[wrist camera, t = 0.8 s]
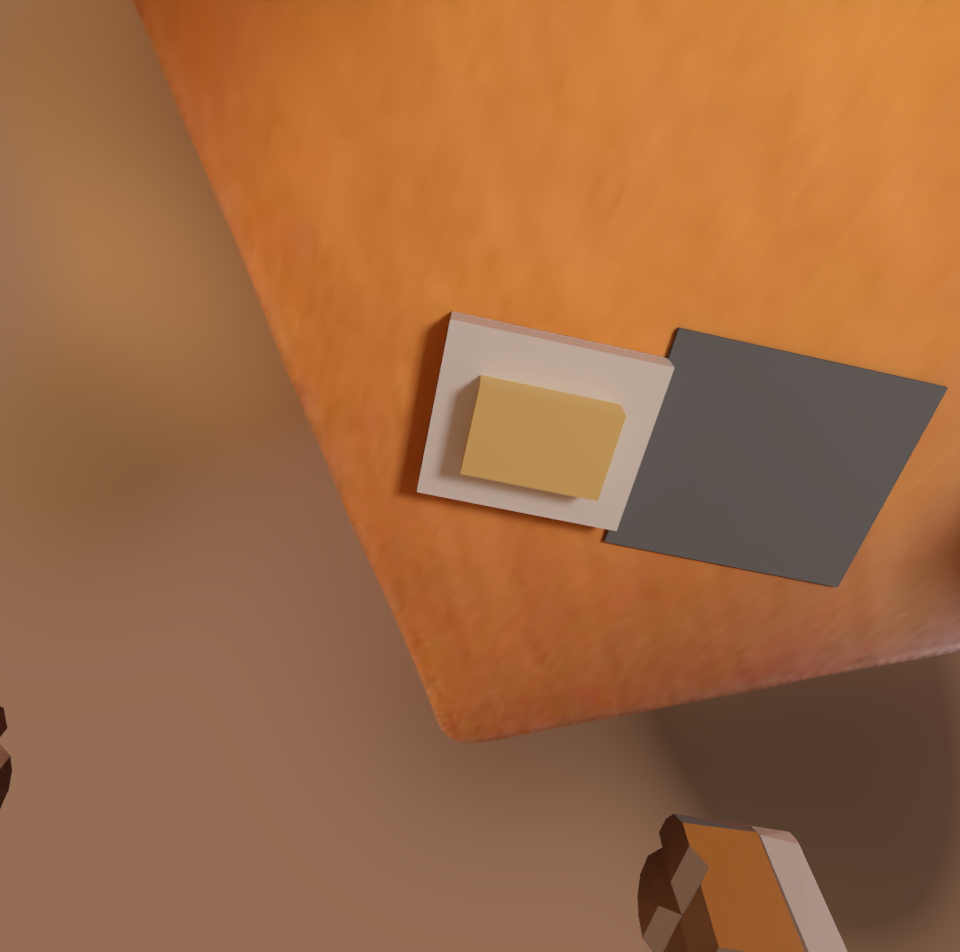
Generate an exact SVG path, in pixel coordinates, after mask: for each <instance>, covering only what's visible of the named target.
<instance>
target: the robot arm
mask: <svg viewBox="0 0 960 952" xmlns="http://www.w3.org/2000/svg"><path fill="white" fill-rule="evenodd" d="M6 729H7V724H6V718H5V713H4V708H3V707H0V736H1V735H2V734H3V733H4V732H5V731H6ZM11 774H12V767H11V756H10V755H9V754H8V753H7V751H6V750H5V749H4V748H3V747H2V746H1V745H0V808H1V806H2V803H3V801H4V799H5V796H6V794H7V792H8V790H9V785H10V779H11ZM659 835H660V839H661V843H662V848H661V849H659V850H657V851H656V852H654V853H652V854H651V855H649V856H648V857H647V859H646V862H645V864H644V866H643V869H642V871H641V873H640V881H639V889H638V914H639V921H640V926H641V933H642V938H643V939H644V941H645V942H646V943H647V945H648V946H649V947H650V948H651V950H652V951H653V952H847V950H846V948H845V945H844V943H843V941H842V938H841V936H840V934H839V932H838V930H837V928H836V925H835V923H834V921H833V919H832V916H831V914H830V912H829V910H828V907H827V905H826V903H825V901H824V899H823V896H822V894H821V892H820V890H819V887H818V886H817V883H816V881H815V879H814V876H813V874H812V872H811V870H810V868H809V866H808V863H807V861H806V859H805V857H804V854H803V852H802V850H801V848H800V845H799V843H798V841H797V840H796V839H795V838H794V837H793V836H792V835H791V834H790V833H789V832H785V831H778V830H773V829H766V828H760V827H754V826H746V825H745V824H739V823H732V822H726V821H719V820H712V819H705V818H699V817H692V816H685V815H679V814H672V815H671V816H669V817H668V818H667V819H666V820H665V822H664V823H663V825H662V828H661V829H660V831H659Z"/></svg>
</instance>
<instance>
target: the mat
mask: <svg viewBox="0 0 960 952" xmlns="http://www.w3.org/2000/svg"><path fill="white" fill-rule="evenodd" d="M668 359H669V361H670V362H671V363H672V365H673V366H674V367H675V368H674V371H673V374H672V377H671V380H670V382H669V385H668V388H667V391H666V394H665V396H664V399H663V402H662V405H661V408H660V410H659V413H658V416H657V419H656V422H655V425H654V427H653V430H652V433H651V436H650V439H649V441H648V444H647V447H646V450H645V453H644V455H643V458H642V461H641V464H640V467H639V470H638V472H637V475H636V478H635V481H634V484H633V486H632V489H631V492H630V495H629V498H628V500H627V503H626V506H625V509H624V512H623V515H622V517H621V520H620V523H619V526H618V529H617V531H612V530H607V533H606V536H605V539H604V541H605V542H607V543H612V544H617V545H622V546H628V547H633V548H638V549H643V550H648V551H653V552H658V553H664V554H669V555H674V556H679V557H684V558H689V559H694V560H700V561H705V562H710V563H715V564H720V565H725V566H730V567H736V568H741V569H746V570H751V571H756V572H761V573H766V574H772V575H777V576H782V577H787V578H792V579H797V580H802V581H808V582H813V583H818V584H823V585H828V586H833V587H838V586H839V584H840V582H841V581H842V579H843V577H844V575H845V573H846V571H847V570H848V568H849V566H850V564H851V562H852V561H853V559H854V557H855V555H856V553H857V552H858V550H859V548H860V546H861V544H862V542H863V541H864V539H865V537H866V535H867V533H868V532H869V530H870V528H871V526H872V524H873V523H874V521H875V519H876V517H877V515H878V514H879V512H880V510H881V508H882V506H883V504H884V503H885V501H886V499H887V497H888V495H889V494H890V492H891V490H892V488H893V486H894V485H895V483H896V481H897V479H898V477H899V475H900V474H901V472H902V470H903V468H904V466H905V465H906V463H907V461H908V459H909V457H910V456H911V454H912V452H913V450H914V448H915V447H916V445H917V443H918V441H919V439H920V437H921V436H922V434H923V432H924V430H925V428H926V427H927V425H928V423H929V421H930V419H931V418H932V416H933V414H934V412H935V410H936V408H937V407H938V405H939V403H940V401H941V399H942V398H943V396H944V394H945V392H946V390H947V389H948V388H947V387H945V386H941V385H936V384H932V383H927V382H923V381H918V380H914V379H909V378H904V377H900V376H895V375H891V374H886V373H882V372H877V371H873V370H868V369H864V368H859V367H855V366H850V365H846V364H841V363H837V362H832V361H828V360H823V359H818V358H814V357H809V356H805V355H800V354H796V353H791V352H787V351H782V350H778V349H773V348H769V347H764V346H760V345H755V344H751V343H746V342H742V341H737V340H733V339H728V338H723V337H719V336H714V335H710V334H705V333H701V332H696V331H692V330H687V329H683V328H678V329H677V332H676V335H675V338H674V341H673V343H672V346H671V349H670V352H669V355H668Z"/></svg>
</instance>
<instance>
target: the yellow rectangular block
mask: <svg viewBox="0 0 960 952" xmlns="http://www.w3.org/2000/svg"><path fill="white" fill-rule="evenodd" d="M625 418H626V415H625V413H624V410H623V408H622V406H621V404H617V403H612V402H608V401H603V400H598V399H593V398H589V397H584V396H579V395H574V394H570V393H565V392H560V391H555V390H551V389H546V388H541V387H536V386H532V385H527V384H522V383H517V382H513V381H508V380H503V379H498V378H494V377H489V376H484V375H481V376H480V380H479V384H478V389H477V393H476V398H475V402H474V407H473V411H472V416H471V420H470V425H469V429H468V434H467V438H466V443H465V447H464V452H463V456H462V462H461V471H460V474H463V475H468V476H473V477H478V478H483V479H488V480H493V481H499V482H504V483H509V484H514V485H519V486H524V487H529V488H534V489H539V490H544V491H549V492H554V493H559V494H564V495H569V496H574V497H579V498H584V499H589V500H594V501H598V499H599V496H600V493H601V490H602V487H603V484H604V481H605V478H606V475H607V472H608V469H609V466H610V463H611V460H612V457H613V454H614V451H615V448H616V445H617V442H618V439H619V436H620V433H621V430H622V427H623V424H624V421H625Z"/></svg>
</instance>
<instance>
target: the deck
mask: <svg viewBox="0 0 960 952" xmlns="http://www.w3.org/2000/svg"><path fill="white" fill-rule="evenodd" d="M674 368H675V367H674V366H673V365H672V363H671V362H670V361H669V359H668V358H666V357H661V356H657V355H652V354H648V353H643V352H638V351H634V350H629V349H625V348H620V347H615V346H611V345H606V344H602V343H597V342H592V341H588V340H583V339H579V338H574V337H569V336H565V335H560V334H556V333H551V332H546V331H542V330H537V329H533V328H528V327H523V326H519V325H514V324H510V323H505V322H500V321H496V320H491V319H487V318H482V317H477V316H473V315H468V314H464V313H459V312H454V311H452V313H451V318H450V322H449V328H448V333H447V338H446V343H445V348H444V353H443V358H442V364H441V369H440V374H439V379H438V384H437V389H436V395H435V400H434V405H433V410H432V415H431V420H430V425H429V431H428V436H427V441H426V446H425V451H424V456H423V462H422V467H421V472H420V477H419V482H418V487H417V492H419V493H424V494H429V495H434V496H439V497H444V498H449V499H454V500H459V501H464V502H470V503H475V504H480V505H485V506H490V507H495V508H500V509H505V510H510V511H515V512H521V513H526V514H531V515H536V516H541V517H546V518H551V519H556V520H561V521H567V522H572V523H577V524H582V525H587V526H592V527H597V528H602V529H607V530H612V531H617V529H618V526H619V523H620V520H621V517H622V515H623V512H624V509H625V506H626V503H627V500H628V498H629V495H630V492H631V489H632V486H633V484H634V481H635V478H636V475H637V472H638V470H639V467H640V464H641V461H642V458H643V455H644V453H645V450H646V447H647V444H648V441H649V439H650V436H651V433H652V430H653V427H654V425H655V422H656V419H657V416H658V413H659V410H660V408H661V405H662V402H663V399H664V396H665V394H666V391H667V388H668V385H669V382H670V380H671V377H672V374H673V371H674ZM481 375H484V376H489V377H494V378H498V379H503V380H508V381H513V382H517V383H522V384H527V385H532V386H536V387H541V388H546V389H551V390H555V391H560V392H565V393H570V394H574V395H579V396H584V397H589V398H593V399H598V400H603V401H608V402H612V403H617V404H621V406H622V408H623V410H624V413H625V415H626V418H625V421H624V424H623V427H622V430H621V433H620V436H619V439H618V442H617V445H616V448H615V451H614V454H613V457H612V460H611V463H610V466H609V469H608V472H607V475H606V478H605V481H604V484H603V487H602V490H601V493H600V496H599V499H598V501H594V500H589V499H584V498H579V497H574V496H569V495H564V494H559V493H554V492H549V491H544V490H539V489H534V488H529V487H524V486H519V485H514V484H509V483H504V482H499V481H493V480H488V479H483V478H478V477H473V476H468V475H463V474H460V471H461V462H462V456H463V452H464V447H465V443H466V438H467V434H468V429H469V425H470V420H471V416H472V411H473V407H474V402H475V398H476V393H477V389H478V384H479V380H480V376H481Z"/></svg>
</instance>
